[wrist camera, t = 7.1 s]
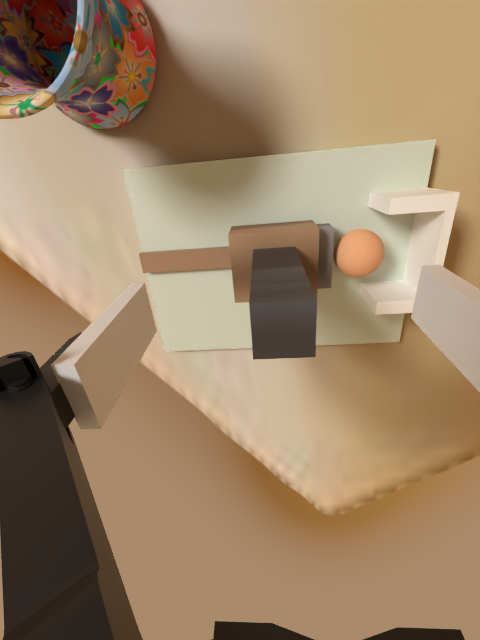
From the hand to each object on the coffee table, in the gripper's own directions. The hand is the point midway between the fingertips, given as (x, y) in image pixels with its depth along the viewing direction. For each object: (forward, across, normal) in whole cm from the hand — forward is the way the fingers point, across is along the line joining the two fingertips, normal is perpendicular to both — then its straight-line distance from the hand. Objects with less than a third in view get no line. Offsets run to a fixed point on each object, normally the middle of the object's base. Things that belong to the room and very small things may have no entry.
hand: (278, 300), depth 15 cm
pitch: (+12, 0, -2) cm, 12 cm away
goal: (+12, +9, -1) cm, 15 cm away
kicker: (+10, +1, -1) cm, 10 cm away
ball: (+9, +6, -1) cm, 11 cm away
